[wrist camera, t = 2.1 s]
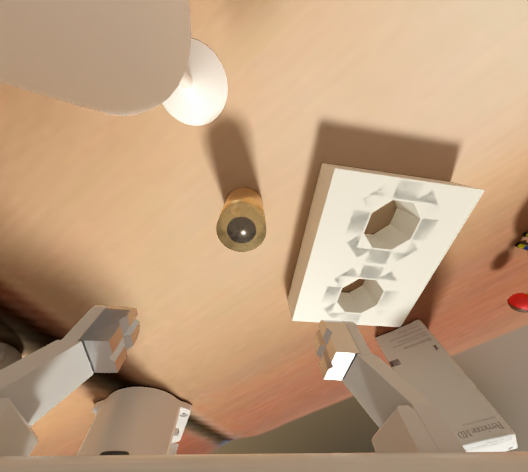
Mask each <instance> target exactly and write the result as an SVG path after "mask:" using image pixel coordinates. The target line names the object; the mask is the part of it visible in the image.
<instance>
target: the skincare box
mask: <svg viewBox="0 0 528 472" xmlns="http://www.w3.org/2000/svg"><path fill="white" fill-rule="evenodd" d="M376 341H377V342H378V344H379V346H380V348H381V349H382V351H383V353H384V355H385V357H386V358H387V360H388V362H389V364H390V366H391V367H392V369H393V370H394V371H395V372H396V373H398V374H399V375H400V376H401V377H402V378H404V379H405V380H406V381H407V382H408V383H409V384H411V385H412V386H413V387H414V388H415V389H417V390H418V391H419V392H420V393H421V394H423V395H424V396H425V397H426V398H427V399H428V400H430V401H431V402H432V403H433V404H434V405H435V406H436V407H437V409H438V410H439V412H440V413H441V415H442V416H443V418H444V419H445V421H446V422H447V424H448V425H449V427H450V428H451V430H452V431H453V433H454V434H455V436H456V437H457V439H458V440H459V442H460V443H461V445H462V446H463V448H464V449H465V450H466V452H505V451H508V450H512V449H516V448H518V445H517V441H516V436H515V433H514V432H513V431H512V430H511V428H510V427H509V426H508V425H507V423H506V422H505V421H504V420H503V419H502V417H501V416H500V415H499V414H498V413H497V411H496V410H495V409H494V408H493V406H492V405H491V404H490V403H489V402H488V400H487V399H486V398H485V397H484V396H483V395H482V393H481V392H480V391H479V390H478V388H477V387H476V386H475V385H474V384H473V382H472V381H471V380H470V379H469V378H468V376H467V375H466V374H465V373H464V372H463V370H461V368H460V367H459V366H458V365H457V363H456V362H455V361H454V360H453V359H452V357H451V356H450V355H449V354H448V353H447V351H446V350H445V349H444V348H443V346H442V345H441V344H440V343H439V342H438V340H437V339H436V338H435V337H434V336H433V334H432V333H431V332H430V331H429V330H428V329H427V327H426V326H425V325H424V324H423V323H422V321H420V320H419V319H418V320H415V321H413V322H411V323H409V324H407V325H405V326H402V327H400V328H398V329H396V330H393V331H391V332H389V333H386V334H383V335H380V336H378V337H376Z"/></svg>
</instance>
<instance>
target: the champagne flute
mask: <svg viewBox="0 0 528 472" xmlns="http://www.w3.org/2000/svg"><path fill="white" fill-rule="evenodd" d="M191 35H192V33H191V19H190V7H189V2H188V0H0V83H3V84H6V85H10V86H13V87H17V88H20V89H23V90H27V91H30V92H34V93H37V94H40V95H44V96H47V97H51V98H54V99H57V100H61V101H64V102H68V103H71V104H74V105H78V106H81V107H85V108H88V109H91V110H95V111H98V112H102V113H106V114H109V115H121V116H129V115H135V114H141V113H144V112H146V111H149V110H151V109H153V108H156V107H158V106H159V105H160V104H163V106H164V107H165V108H166V110H167V111H168V112H169V113H170V114H171V115H172V116H173V117H175V118H176V119H177V120H179V121H181V122H183V123H185V124H188V125H194V126H200V125H205V124H208V123H210V122H212V121H213V120H214V119H216V118H217V117H218V116H219V114H220V113H221V112H222V110H223V108H224V106H225V103H226V100H227V93H228V84H227V78H226V74H225V71H224V68H223V66H222V64H221V62H220V60H219V58H218V57H217V56H216V54H215V53H214V52H213V51H212V50H211V49H210V48H209V47H208V46H207V45H205V44H204V43H202V42H201V41H198V40H196V39H193V38H191Z"/></svg>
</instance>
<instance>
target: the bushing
mask: <svg viewBox="0 0 528 472" xmlns="http://www.w3.org/2000/svg"><path fill="white" fill-rule="evenodd" d="M216 229H217V235H218V238H219V240H220V241H221V242H222V243H223V245H225V246H226V247H227V248H229V249H231V250H234V251H238V252H246V251H250V250H253V249H255V248H257V247H258V246H259V245H260V244H261V243H262V242H263V240H264V238H265V235H266V223H265V216H264V209H263V203H262V199H261V197H260V195H259V194H258V193H257V192H256V191H254V190H253V189H250V188H246V187H241V188H237V189H235V190H233V191H232V192H231V193H230V194H229V195H228V197H227V199H226V202H225V205H224V207H223V210H222V212H221V215H220V217H219V220H218V222H217V228H216Z"/></svg>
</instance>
